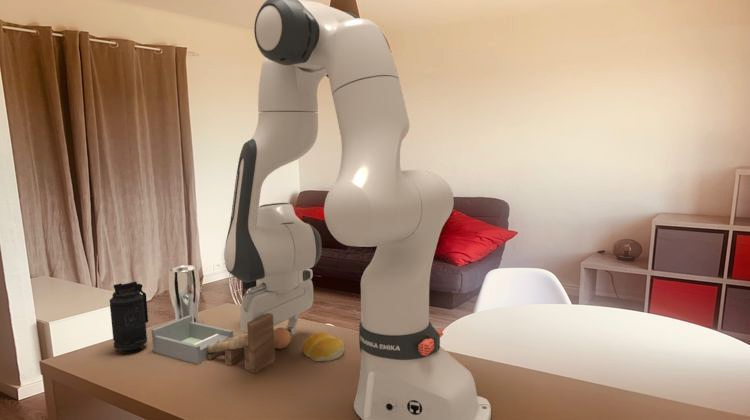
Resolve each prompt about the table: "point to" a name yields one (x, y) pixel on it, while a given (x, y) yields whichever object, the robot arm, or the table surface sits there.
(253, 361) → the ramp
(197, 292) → the beer glass
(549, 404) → the table surface
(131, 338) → the grenade
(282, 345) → the ball
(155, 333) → the grey tray
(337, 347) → the bread roll
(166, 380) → the table surface
